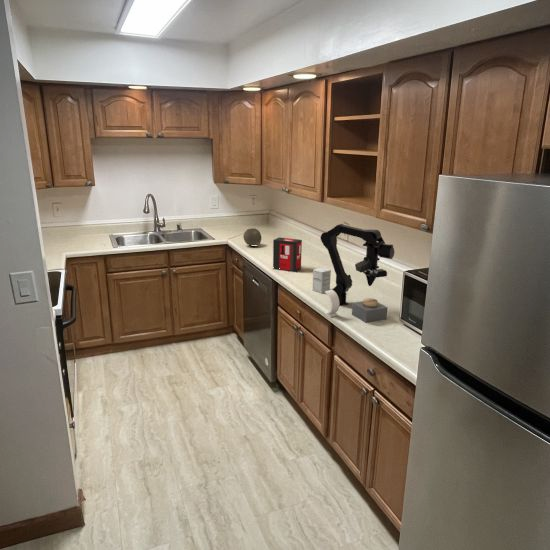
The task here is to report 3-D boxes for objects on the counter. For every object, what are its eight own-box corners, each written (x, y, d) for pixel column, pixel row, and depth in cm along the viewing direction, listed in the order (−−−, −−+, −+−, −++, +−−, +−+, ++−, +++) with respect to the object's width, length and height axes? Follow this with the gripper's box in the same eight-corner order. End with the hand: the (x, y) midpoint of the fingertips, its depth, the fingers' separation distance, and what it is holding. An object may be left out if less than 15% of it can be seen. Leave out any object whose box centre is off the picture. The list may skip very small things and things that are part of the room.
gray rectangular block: (351, 314, 222) (352, 302, 220) (375, 310, 227) (376, 299, 226) (365, 323, 211) (366, 310, 210) (389, 318, 217) (391, 306, 215)
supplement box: (311, 290, 257) (312, 269, 254) (321, 287, 262) (321, 267, 258) (321, 293, 252) (322, 272, 248) (330, 291, 256) (331, 269, 253)
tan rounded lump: (359, 310, 220) (360, 299, 218) (371, 308, 223) (371, 297, 221) (367, 315, 214) (368, 304, 212) (379, 313, 217) (380, 302, 215)
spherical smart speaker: (254, 244, 370) (254, 226, 366) (264, 247, 360) (265, 228, 355) (240, 246, 361) (240, 228, 357) (250, 249, 351) (250, 230, 347)
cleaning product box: (273, 269, 299) (273, 239, 293) (278, 266, 306) (278, 237, 301) (295, 272, 292) (296, 242, 286) (300, 269, 300) (301, 239, 294)
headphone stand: (330, 312, 224) (332, 289, 221) (338, 316, 219) (340, 293, 216) (323, 314, 222) (324, 291, 218) (331, 318, 217) (332, 294, 214)
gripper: (347, 252, 225) (346, 282, 229) (369, 261, 208) (367, 293, 213) (366, 250, 229) (364, 280, 234) (389, 259, 213) (386, 290, 217)
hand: (369, 285), depth 224 cm, fingers closed
